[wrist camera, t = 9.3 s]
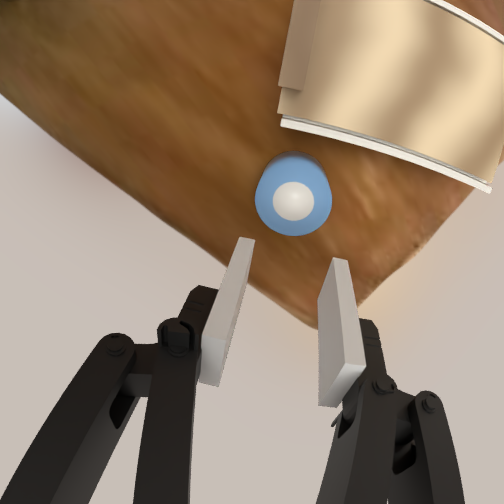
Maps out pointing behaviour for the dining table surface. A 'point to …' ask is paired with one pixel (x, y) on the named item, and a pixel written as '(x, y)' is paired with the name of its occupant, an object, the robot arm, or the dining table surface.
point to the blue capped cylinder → (293, 194)
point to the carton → (390, 147)
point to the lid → (398, 77)
